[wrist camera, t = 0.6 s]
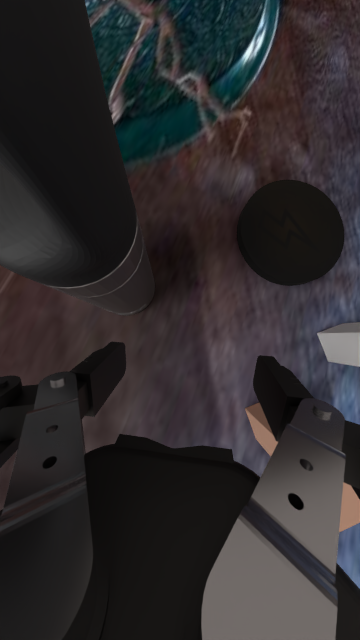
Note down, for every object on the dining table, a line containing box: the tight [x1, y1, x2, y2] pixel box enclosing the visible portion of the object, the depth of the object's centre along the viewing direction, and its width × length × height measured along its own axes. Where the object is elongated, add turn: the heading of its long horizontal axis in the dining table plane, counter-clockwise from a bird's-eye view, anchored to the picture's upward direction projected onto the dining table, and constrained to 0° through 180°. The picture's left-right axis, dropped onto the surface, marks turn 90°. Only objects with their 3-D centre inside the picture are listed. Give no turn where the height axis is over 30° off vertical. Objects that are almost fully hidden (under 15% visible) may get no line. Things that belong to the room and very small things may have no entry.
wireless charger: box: [237, 180, 344, 286], centre depth 32 cm, size 18×18×2 cm
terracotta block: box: [245, 403, 360, 532], centre depth 23 cm, size 5×5×14 cm
